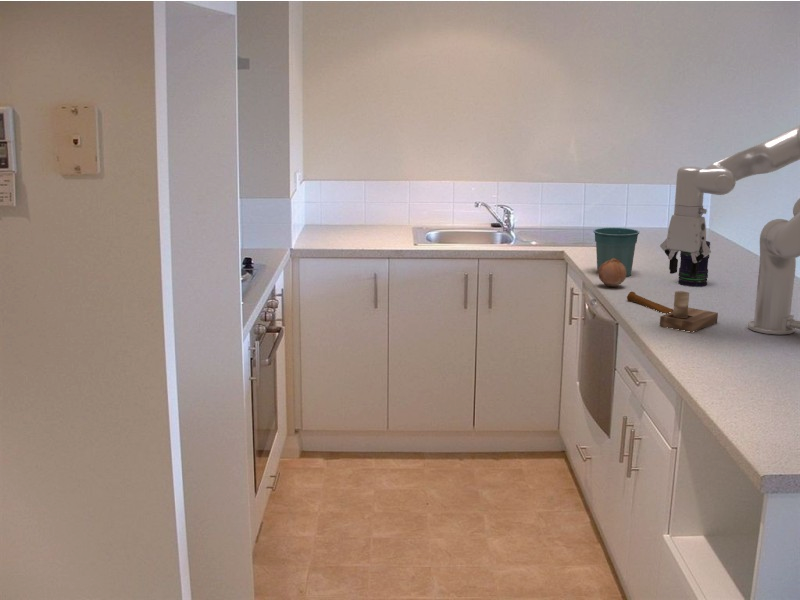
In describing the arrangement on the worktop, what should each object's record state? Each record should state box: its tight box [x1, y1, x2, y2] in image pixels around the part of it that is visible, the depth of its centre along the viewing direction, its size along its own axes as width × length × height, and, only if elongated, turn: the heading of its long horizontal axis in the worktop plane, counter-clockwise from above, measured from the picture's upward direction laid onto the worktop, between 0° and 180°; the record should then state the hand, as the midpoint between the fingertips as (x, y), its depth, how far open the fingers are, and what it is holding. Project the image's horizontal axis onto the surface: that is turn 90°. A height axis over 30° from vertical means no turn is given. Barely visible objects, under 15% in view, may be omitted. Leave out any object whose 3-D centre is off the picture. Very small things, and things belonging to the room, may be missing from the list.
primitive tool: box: [626, 291, 674, 314], centre depth 296 cm, size 19×6×4 cm, turn 30°
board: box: [659, 307, 719, 333], centre depth 275 cm, size 10×16×3 cm, turn 137°
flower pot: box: [593, 227, 641, 277], centre depth 344 cm, size 16×16×16 cm
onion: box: [597, 258, 627, 288], centre depth 324 cm, size 10×9×10 cm
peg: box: [672, 290, 690, 320], centre depth 272 cm, size 4×4×10 cm
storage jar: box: [677, 240, 711, 288], centre depth 329 cm, size 10×10×15 cm
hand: (683, 273), depth 269 cm, fingers open, 5 cm apart
